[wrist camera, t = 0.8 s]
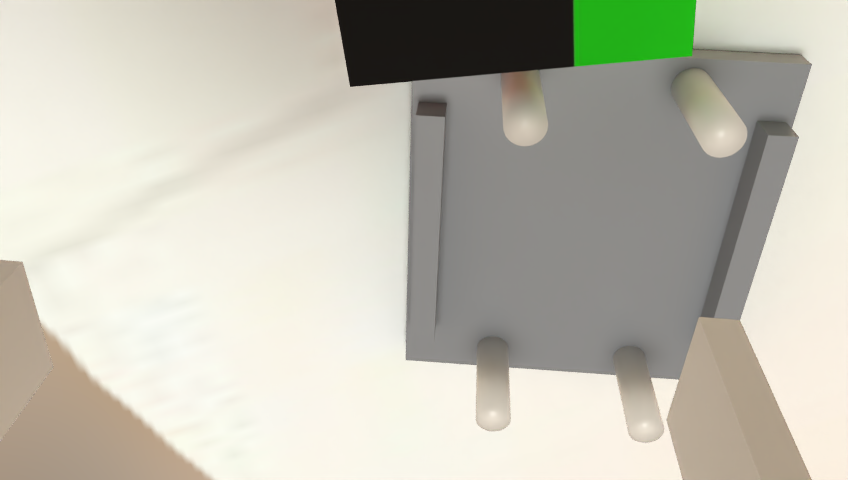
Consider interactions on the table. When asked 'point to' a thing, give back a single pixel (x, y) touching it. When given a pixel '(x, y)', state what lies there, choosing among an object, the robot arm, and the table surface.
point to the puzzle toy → (505, 36)
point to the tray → (592, 215)
